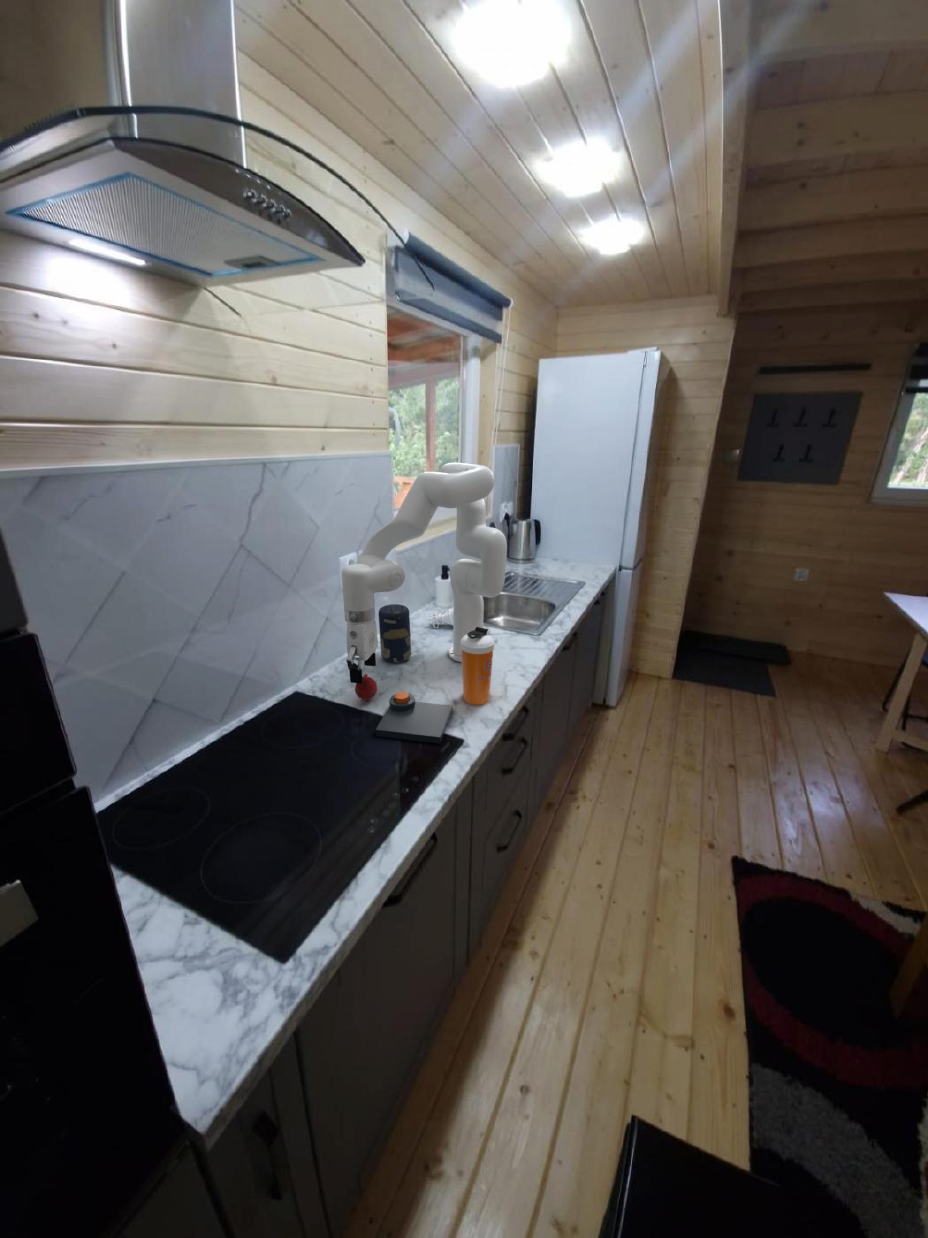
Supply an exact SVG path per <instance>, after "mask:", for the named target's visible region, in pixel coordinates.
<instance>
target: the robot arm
mask: <svg viewBox="0 0 928 1238" xmlns="http://www.w3.org/2000/svg"><path fill="white" fill-rule="evenodd" d="M494 487H495V476H494V473H493V471H492V469H490V468H489V467H487V466H486V465H483V464H471V463H464V462H447V463H445V464H444V465H442V466H441V467H440V469H439V472H437V471H424V472H421V473H419V475H418V476H416V478H415V480H414V482H413V483H412V484H411V487H410V488H409V490H408V492H407V494H406V496H405V498H404V500H403V502H402V503H401V505H400V507H399V508H398V511H397V513H396V514H395V516H394V517H393V518H392V519H391V520H390V521H389V522H387V523H386V524H384V525H383V526H382V527H381V528H380V529H379V530H377V531H376V532H375V533H373V535H372V536H370V538H369V539H368V540H367V542H366V544H365V545H364V547H363V549H362V551H361V553H360V555H359V556H358V557H357V562H356V563H354V564H348V565H345V566H344V567H343V568H342V570H341V584H342V585H341V586H342V597H343V610H344V621H345V622H346V652H347V653H346V654H347V657H346V660H345V661H346V664H347V668H348V671H349V682H350V683H352V684H356V683H359V684H362V682H363V678H362V677H363V669H362V662H363V664H364V666H366V667H376V666H377V657H376V655H377V654H376V650H377V649H378V646H379V641H378V639H379V638H378V630H377V629H378V628H377V622H376V609H375V608H376V607H375V594H376V593H387V592H393V591H397V590H399V589H400V588H401V587H402V586H403V584H404V583H405V580H406V573H405V570H404V568H403V567H402V566H401V565H399V564H398V563H396V562H395V561H390V560H389V559H388V560H387V559H386V558H387V556H388V555H389V553H390V552H391V551H393V550H394V549H395V548H396V547H397V546H399V545H401V544H404V543H407V542H409V541H412V540H415V539H418V538H420V537H422V536H423V535H424V534H425V532H426V530H427V528H428V526H429V524H430V523H431V520H432V519H433V517H434V515H435V513H436V512H437V510H438V508H445V509H456V529H455V530H456V531H455V534H456V535H455V545H456V549H457V551H458V552H459V553H461V554H462V555H464V556H468V557H471V558H475V559H479V560H480V561H479V560H475V559H471V558H460V559H458V560H456V561H455V562H454V563H453V564H452V566H451V568H450V572H449V579H450V586H451V591H452V598H453V599H452V600H453V602H452V603H453V604H452V605H453V607H452V608H453V626H452V628H453V631H452V632H453V633H452V636H453V638H452V639H453V641H452V642H453V644H452V646H451V647H450V648H449V649H448V656H449V658H451V659H452V660H453V661H455V662H459V663H462V649H461V639H462V638H463V636H465V635H466V634H468V633H469V632H471V631H473V630H474V629H475V627H480V628H484V617H485V616H484V614H485V613H484V612H485V611H484V610H485V604H484V603H485V602H484V597H485V598H490V599H492V598H496V597H497V596H499V595H500V594H501V593H502V591H503V588H504V585H505V581H506V570H507V557H508V556H507V555H508V542H507V538H506V536H505V534H504V532H502V530H500V529H498V528H496V527H493V526H492V527H491V526H487V519H486V518H487V512H486V511H487V507H486V501H485V498H487V497H488V496H489V495H490V494H491V493H492V491H493V489H494ZM355 661H357V663H356V662H355Z"/></svg>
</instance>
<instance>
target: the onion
mask: <svg viewBox="0 0 928 1238" xmlns="http://www.w3.org/2000/svg"><path fill="white" fill-rule="evenodd" d="M362 678H363V682H362V684H359V683H355V686H354V692H355V695H356V696H357V697H358V698H359V699H360V700H363V701H366V702H367V701H369V700H371V699H373V698H374V696H375V695H376V694H377V691H378V685H377V681H376V680H374V679H373V678H372V677H370V676H369V674H368V673H363V674H362Z"/></svg>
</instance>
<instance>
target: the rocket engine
mask: <svg viewBox="0 0 928 1238" xmlns="http://www.w3.org/2000/svg"><path fill="white" fill-rule="evenodd" d="M426 619H427V622H430V624H431V625H432V627H433V628H434V629H439V627H440V624H446V625H449V626H452V627H453V607H451V608H449V609H448V610H446V611H445V612H444V613H443V614H442V613H441V612H438V613H437V612H436V611H432V616H429V617H427V618H426ZM436 625H437V627H436Z"/></svg>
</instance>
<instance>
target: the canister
mask: <svg viewBox="0 0 928 1238" xmlns="http://www.w3.org/2000/svg"><path fill="white" fill-rule="evenodd" d="M410 618H411V617H410V609H409V608H408V607H407V606H406V605H403V604H397V603H392V604H391V603H390V604H387V605H383V606H382V607H380V608H379V609H378V624H379V625H378V628H379V642H380V644H379V645H380V655H381V659H383V660H384V661H386V662H388V663H402V662H405V661H406V660H408V659H409V658H411V656H412V639H411V637H412V634H411V619H410Z"/></svg>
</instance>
